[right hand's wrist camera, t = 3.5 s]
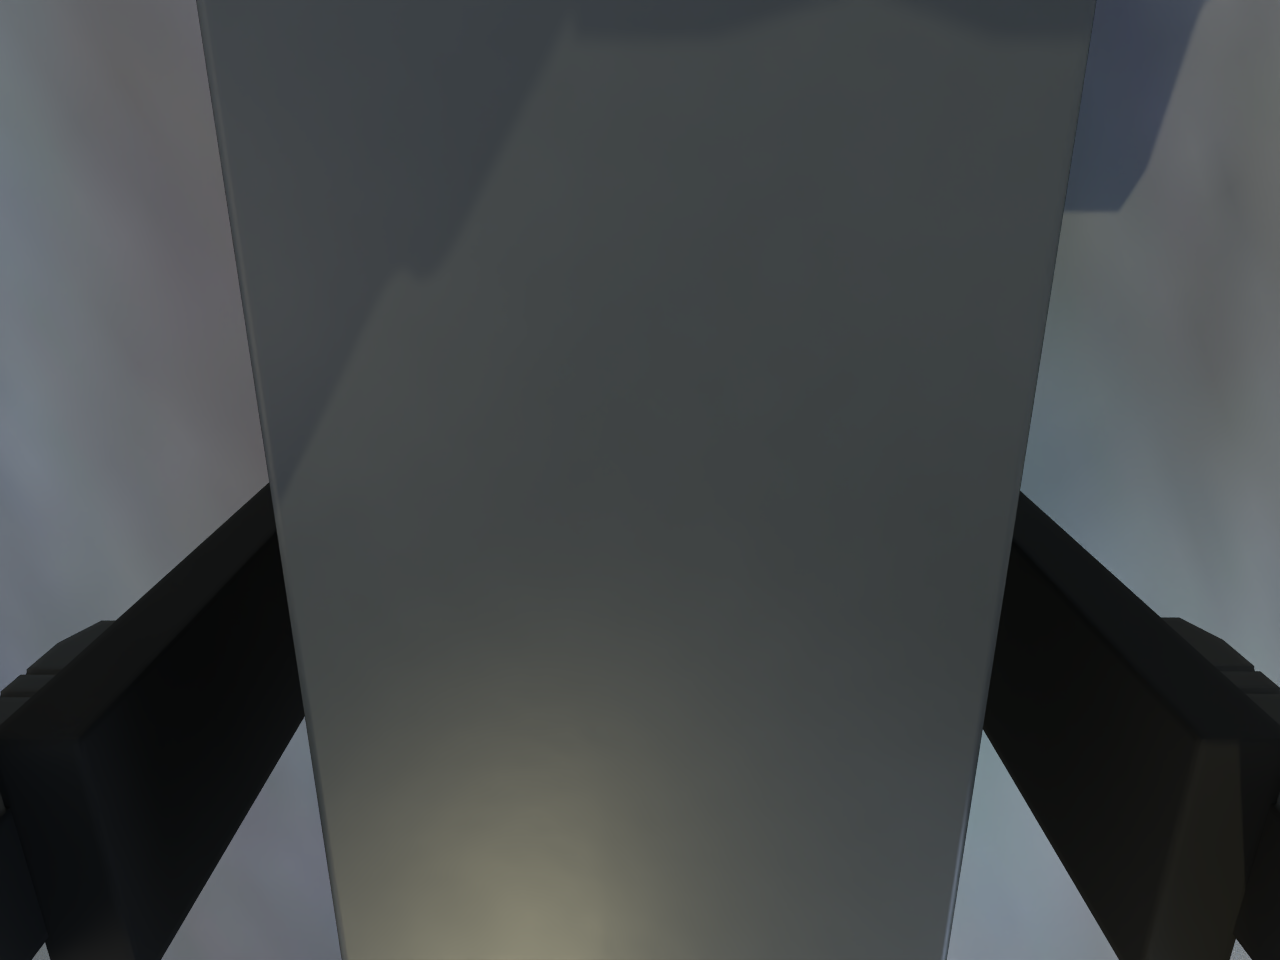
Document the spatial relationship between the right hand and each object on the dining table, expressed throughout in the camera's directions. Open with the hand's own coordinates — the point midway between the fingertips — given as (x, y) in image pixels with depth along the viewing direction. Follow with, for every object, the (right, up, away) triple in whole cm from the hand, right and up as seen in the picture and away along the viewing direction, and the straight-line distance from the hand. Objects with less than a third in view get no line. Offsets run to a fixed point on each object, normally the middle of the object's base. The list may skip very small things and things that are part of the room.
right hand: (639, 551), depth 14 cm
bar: (0, +8, -2) cm, 8 cm away
